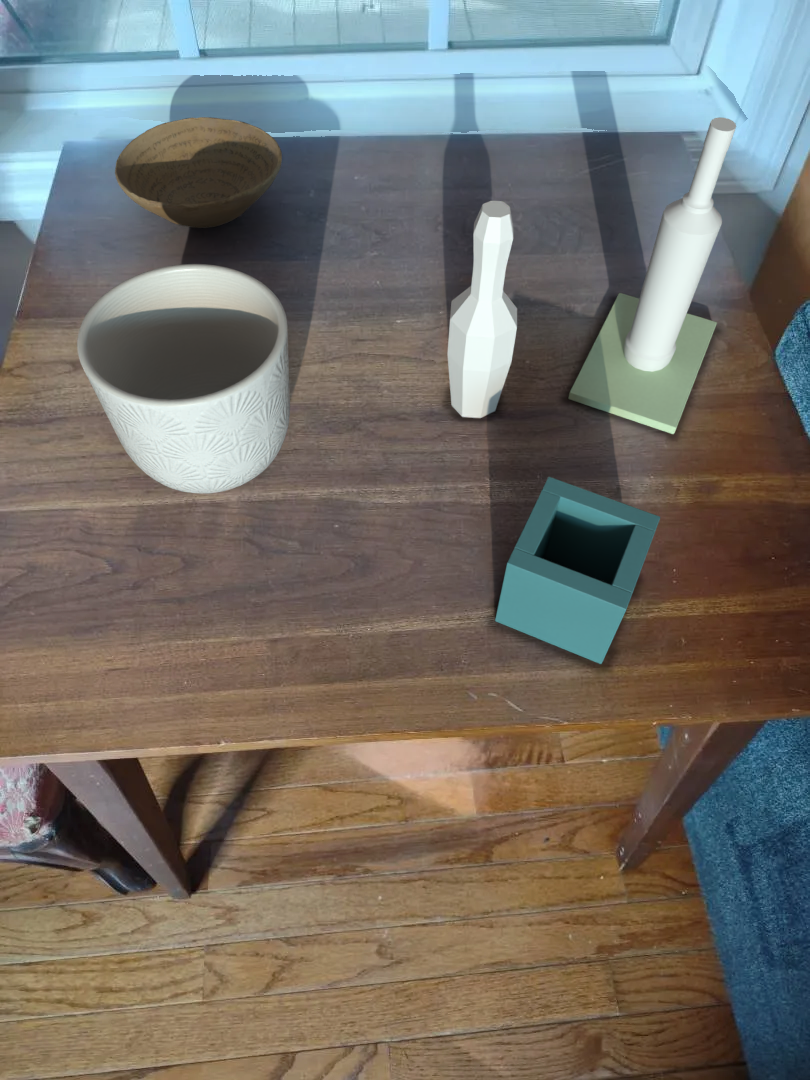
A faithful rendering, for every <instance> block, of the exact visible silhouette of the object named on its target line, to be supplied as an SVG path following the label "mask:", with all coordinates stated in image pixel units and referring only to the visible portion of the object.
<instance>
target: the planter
mask: <svg viewBox="0 0 810 1080" xmlns="http://www.w3.org/2000/svg"><path fill="white" fill-rule="evenodd" d="M288 327H289V326H288V317H287V315H286V311H285V308H284V306H283V305H282V302H281V301H280V299H279V298H278V296H277V295H276V294H275V293H274V292H273V291H272V290H271V289H270V288H269V287H268V286H267V285H266V284H264V283H263V282H261V281H260V280H259V279H257V278H255V277H254V276H252V275H249V274H247V273H245V272H242V271H240V270H236V269H234V268H231V267H230V268H229V267H226V266H221V265H215V264H205V263H188V264H187V263H185V264H176V265H175V264H174V265H168V266H164V267H158V268H155V269H151V270H148V271H144V272H142V273H140V274H137V275H134V276H132V277H130V278H128V279H125V280H124V281H122V282H120V283H118V284H116V285H115V286H114V287H112V288H110V289H109V290H108V291H107V292H106V293H104V294H102V296H101V297H100V298H99V299H98V300H97V301H95V303H94V304H93V305H92V306H91V307H90V309H89V310H88V311H87V313H86V315H85V316H84V318H83V319H82V322H81V324H80V327H79V329H78V334H77V340H76V348H77V349H76V350H77V356H78V359H79V363H80V365H81V367H82V368H83V371H84V373H85V375H86V378H87V379H88V381H89V384H90V385H91V387H92V389H93V391H94V393H95V396H96V397H97V399H98V401H99V403H100V405H101V407H102V409H103V410H104V413H105V414H106V417H107V419H108V420H109V422H110V424H111V426H112V428H113V430H114V433H115V434H116V436H117V438H118V440H119V442H120V444H121V446H122V447H123V449H124V451H125V453H126V454H127V455H128V457H129V458H130V459H131V460H132V461H133V463H134V464H135V465H136V467H138V468H139V469H140V470H141V471H142V472H144V473H145V474H146V475H147V476H148V477H149V478H151V479H152V480H154V481H156V482H157V483H159V484H161V485H163V486H165V487H166V488H170V489H172V490H176V491H179V492H183V493H190V494H214V493H215V494H216V493H222V492H227V491H230V490H233V489H236V488H238V487H241V486H243V485H245V484H247V483H248V482H250V481H251V480H253V479H255V478H256V477H258V476H259V475H261V474H262V473H263V472H264V471H265V470H266V469H267V468H268V467H269V466H270V465H271V464H272V462H274V460H275V458H276V457H277V455H278V454H279V452H280V450H281V448H282V447H283V444H284V441H285V440H286V436H287V433H288V429H289V425H290V424H289V422H290V418H291V417H290V416H291V391H290V390H291V389H290V387H291V386H290V360H289V359H290V358H289V357H290V356H289V355H290V354H289V328H288Z"/></svg>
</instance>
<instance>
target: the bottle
mask: <svg viewBox="0 0 810 1080" xmlns="http://www.w3.org/2000/svg"><path fill="white" fill-rule="evenodd" d="M736 128H737V124H736V122H734V120H732V119H730V118H727V117H714V118H712V119H711V120H710V123H709V125H708V129H707V131H706V134H705V138H704V142H703V146H702V149H701V152H700V156H699V159H698V162H697V166H696V168H695V171H694V174H693V178H692V181H691V184H690V187H689V190H688V192H686V193H684V195H683V196H682V198H679V199H676V200H674V201H672V202H670V203H668V204H667V205H666V206H665V207H664V210H663V211H662V215H661V219H660V222H659V226H658V230H657V233H656V236H655V241H654V243H653V248H652V251H651V255H650V259H649V262H648V266H647V270H646V272H645V277H644V281H643V284H642V288H641V292H640V295H639V297H638V298H639V302H638V306H637V309H636V313H635V317H634V320H633V324H632V328H631V331H629V333H628V335H627V336H626V339H625V343H624V356H625V358H626V360H627V361H628V363H629V364H631V365H632V366H633V367H635V368H637V369H640V370H643V371H652V372H653V371H658V370H661V369H663V368H664V367H666V366H667V365H668V364H669V362H670V361H671V359H672V357H673V355H674V352H675V350H676V339H677V337H678V334H679V332H680V329H681V327H682V324H683V322H684V319H685V316H686V314H687V313H688V311H689V309H690V306H691V304H692V301H693V299H694V296H695V293H696V290H697V289H698V286H699V283H700V281H701V278H702V276H703V273H704V270H705V268H706V265H707V262H708V260H709V257H710V256H711V255H710V254H711V252H712V250H713V247H714V244H715V243H716V239H717V237H718V234H719V232H720V230H721V227H722V224H723V219H722V214H720V212H719V211H718V210H717V209H716V207H715V206H714V204H715V203H714V199H713V198H712V197H713V194H714V191H715V187H716V186H717V185H716V184H717V182H718V180H719V177H720V173H721V170H722V167H723V165H724V162H725V158H726V156H727V153H728V151H729V148H730V146H731V143H732V140H733V137H734V135H735V131H736Z"/></svg>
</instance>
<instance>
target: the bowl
mask: <svg viewBox="0 0 810 1080" xmlns="http://www.w3.org/2000/svg"><path fill="white" fill-rule="evenodd" d="M282 163H283V154H282V149H281V147H280V145H279V143H278V142H277V140H276V138H274V137H273V136H272V135H270V134H269V133H268V132H266V131H265V130H263V129H262V128H260V127H258V126H256V125H253V124H250V123H247V122H244V121H240V120H237V119H228V118H227V119H226V118H221V117H220V118H219V117H211V116H210V117H209V116H207V117H206V116H200V117H185V118H182V119H177V120H172V121H168V122H163V123H160V124H158V125H154V126H153V127H151V128H149V129H147V130H145V131H143V133H141V134H139V135H138V136H136V137H135V138H133V139H132V140H131V141H130V142H128V143H127V145H125V147H124V148H123V150H122V151H121V152H120V153H119V154H118V157H117V159H116V162H115V166H114V167H115V169H114V176H115V179H116V182H117V184H118V186H119V187H120V189H121V190H122V191H123V192H124V194H125V195H126V196H127V197H128V198H130V199H131V200H132V201H133V202H134V203H135V204H137V205H138V206H140V207H141V208H143V209H144V210H146V211H148V212H150V213H151V214H154V215H156V216H159V217H160V218H162V219H165V220H167V221H168V222H170V223H172V224H175V225H178V226H182V227H189V228H197V229H201V228H202V229H204V228H205V229H208V228H215V227H219V226H222V225H225V224H227V223H229V222H232V221H234V220H235V219H237V218H239V217H241V216H242V215H243V214H244V213H246V211H247V210H248V209H249V208H250V207H251V206H253V204H255V203H256V202H257V201H258V200H259V199H260V198H261V197H262V196H263V195H264V194H265V193H266V192H267V191H268V190H269V188H270V187H271V186H272V184H273V183H274V181H275V180H276V178H277V176H278V174H279V172H280V170H281V167H282Z"/></svg>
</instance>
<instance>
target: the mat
mask: <svg viewBox="0 0 810 1080" xmlns="http://www.w3.org/2000/svg"><path fill="white" fill-rule="evenodd" d="M639 298H640V297H635V296H632V295H628V294H625V293H622V292H619V293H618V294H617V297H616V298H615V300H614V302H613V304H612V306H611V308H610V309H609V313H608V314H607V316H606V318H605V321H604V322H603V324H602V327H601V329H600V330H599V332H598V335H597V337H596V339H595V340H594V342H593V344H592V347H591V348H590V350H589V353H588V354H587V357H586V359H585V360H584V363H583V364H582V367H581V369H580V371H579V373H578V375H577V377H576V378H575V381H574V383H573V385H572V387H571V389H570V391H569V393H568V398H567V399H568V400H570V401H573V402H577V403H579V404H582V405H585V406H588V407H591V408H594V409H597V410H600V411H602V412H606V413H609V414H611V415H614V416H616V417H620V418H623V419H625V420H626V419H627V420H629V421H633V422H635V423H639V424H641V425H644V426H646V427H651V428H653V429H656V430H659V431H661V432H664V433H668V434H671V435H674V434H675V433H676V430H677V428H678V425H679V422H680V420H681V418H682V416H683V413H684V410H685V407H686V405H687V403H688V402H687V401H688V399H689V397H690V394H691V391H692V390H693V386H694V384H695V381H696V378H697V376H698V373H699V371H700V368H701V366H702V363H703V361H704V357H705V355H706V352H707V351H708V347H709V346H710V345H709V344H710V343H711V340H712V337H713V334H714V332H715V329H716V326H717V325H718V322H717V321H714V320H711V319H707V318H704V317H700V316H697V315H695V314H691V313H688V312H687V314H686V316H685V319H684V322H683V324H682V327H681V329H680V332H679V334H678V337H677V339H676V350H675V352H674V355H673V357H672V359H671V361H670V362H669V364H668V365H667V366H666V367H664V368H663V369H661V370H658V371H653V372H652V371H643V370H640V369H637V368H635V367H633V366H632V365H631V364H629V363H628V361H627V360H626V358H625V356H624V343H625V339H626V336H627V335H628V333H629V331H631V328H632V324H633V320H634V317H635V313H636V309H637V306H638V302H639Z"/></svg>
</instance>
